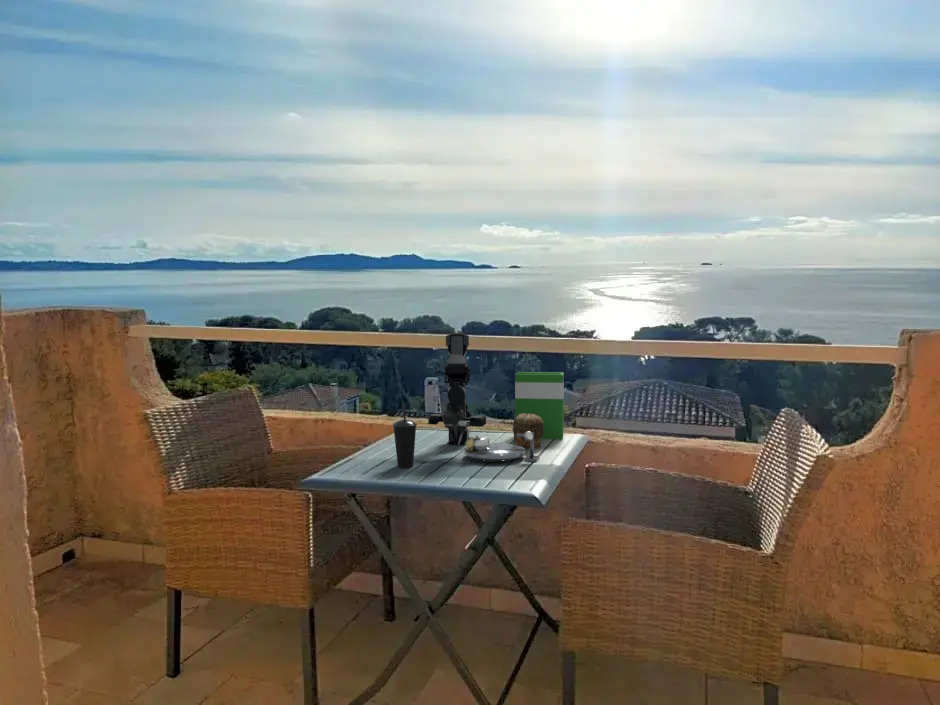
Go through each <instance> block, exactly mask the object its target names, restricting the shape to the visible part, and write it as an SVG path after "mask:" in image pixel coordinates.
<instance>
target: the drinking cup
mask: <svg viewBox="0 0 940 705" xmlns="http://www.w3.org/2000/svg"><path fill="white" fill-rule="evenodd" d="M402 406H403V410H402V411H403V419H399V420H397V421H395V422H393V423H392V427H393V434H394V444H395V453H396V460H397V462H396V464H397V468H399V469H410V468H413V467H414V459H415V448H416V447H415V444H416V430H417V425H418V423H417V422H415V421H413V420H410V419H407V418H406V417H407V416H406V415H407V413H406V412H407V410H406V407H407V406H406V403H403V405H402Z"/></svg>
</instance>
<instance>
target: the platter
mask: <svg viewBox="0 0 940 705" xmlns="http://www.w3.org/2000/svg"><path fill="white" fill-rule="evenodd" d="M464 455H465V456H466V457H468V458H472V459H475V460H476V459H477V460H478V459H481V460H509V459H511V460H514V459H515V460H516V459H519V458H522V457H523V456H525V455H526V449H524V448H523V447H521V446H517V445H515V444H513V443H501V442H499V443H498V442H496V443H494V442H493V443H492V442H489V450H485V451H474V446H473V439H472V438H468V439H466V444H465V448H464ZM481 460H480V461H481ZM509 461H510V460H509Z"/></svg>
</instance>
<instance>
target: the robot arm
mask: <svg viewBox="0 0 940 705" xmlns="http://www.w3.org/2000/svg"><path fill="white" fill-rule="evenodd" d="M469 341H470V336H469V335H468V334H465V333H463V332H451V333H449V334H447V335H445V347H446V348H447V352H448V354H449V356H450V357H449V358H447V361H446V364H445V365H444V384H445V385H446V384H448V385H447V399H448V400H447V402H448V403H447V402H446V403H447V404H446V409H445V411H444V412H443V413H433V414H431V415H429V416H428V418H427V419H428V420H427V424H428V425H438V424H439V423H443V425H444V428H447V429H448V441H447V442H446V444H447V445H448V444H449V445H455V446H457V447H458V446H459V445H466V439H468V438H469V437H470V430H469V429H468V428H470V427H472V428H473V427H475V428H478V427H479V428H481V427H484V426H485V425H486V424H487V419H486V416H485V415H475V414H474V415H473V416H472V413H471V411H470V410H469V409H468V404H467V401H466V384H469V381H471V370H470V367H469V365H468V364H467V359H466V358H465V356H466V354H467V353H468V348H469V347H470V345H469V344H470V342H469Z"/></svg>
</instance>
